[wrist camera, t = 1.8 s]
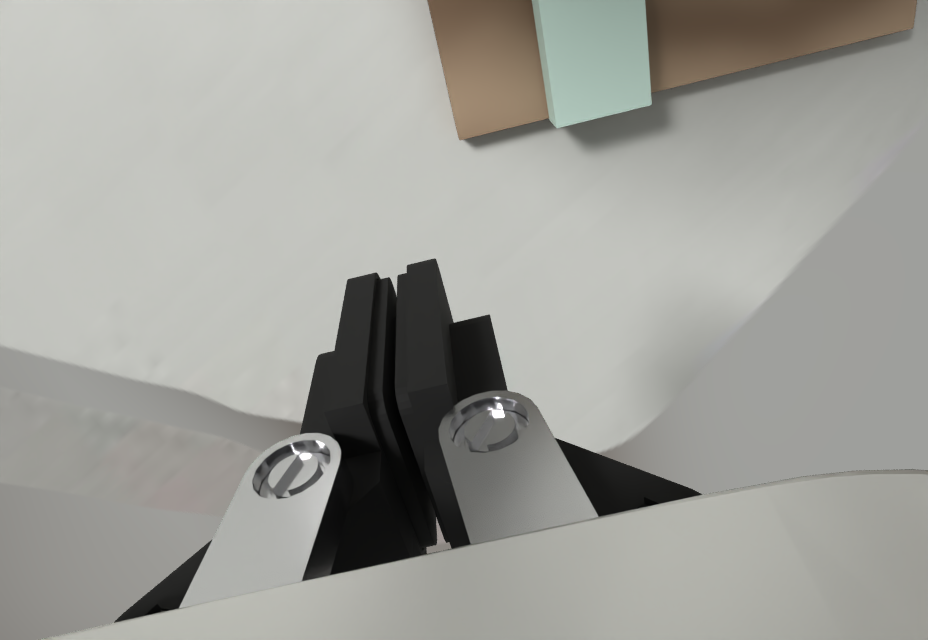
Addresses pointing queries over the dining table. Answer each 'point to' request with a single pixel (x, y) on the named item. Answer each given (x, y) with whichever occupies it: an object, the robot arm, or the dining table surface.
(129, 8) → the dining table surface
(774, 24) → the board
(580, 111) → the link
